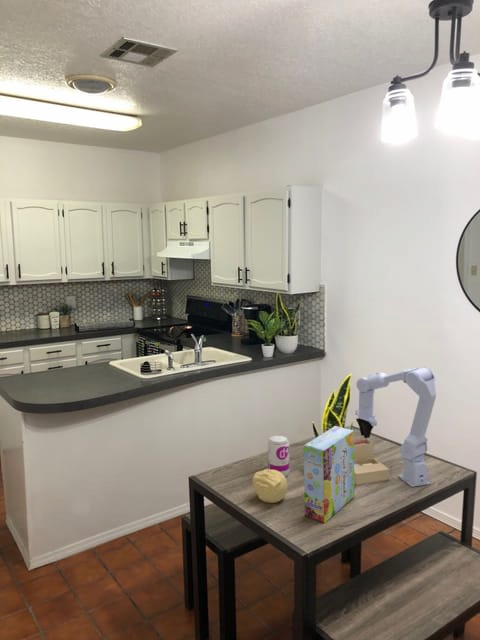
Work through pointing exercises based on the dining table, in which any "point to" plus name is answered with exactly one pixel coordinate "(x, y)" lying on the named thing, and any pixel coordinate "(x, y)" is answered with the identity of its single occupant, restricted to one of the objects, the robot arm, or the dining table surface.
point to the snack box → (328, 473)
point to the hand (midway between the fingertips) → (365, 436)
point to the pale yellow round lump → (270, 485)
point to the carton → (369, 471)
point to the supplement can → (278, 454)
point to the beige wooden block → (363, 449)
